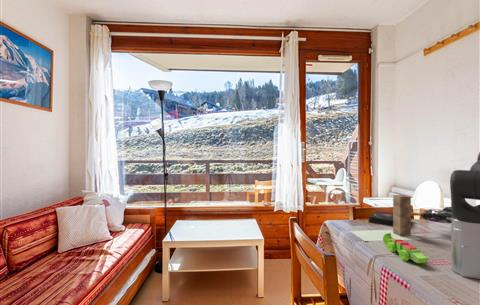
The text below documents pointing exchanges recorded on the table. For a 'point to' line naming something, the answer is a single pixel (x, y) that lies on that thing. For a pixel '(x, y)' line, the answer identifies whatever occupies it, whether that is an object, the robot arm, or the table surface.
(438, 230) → the table surface
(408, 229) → the walnut block
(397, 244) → the toy crocodile
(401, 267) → the table surface
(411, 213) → the kendama
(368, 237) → the sage mat
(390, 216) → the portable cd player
